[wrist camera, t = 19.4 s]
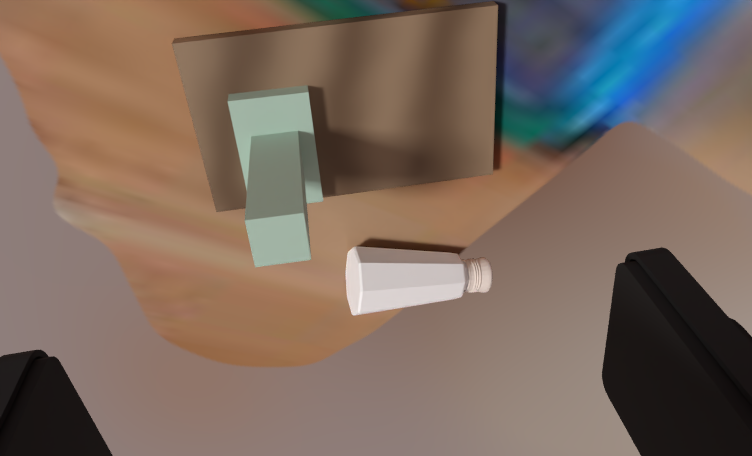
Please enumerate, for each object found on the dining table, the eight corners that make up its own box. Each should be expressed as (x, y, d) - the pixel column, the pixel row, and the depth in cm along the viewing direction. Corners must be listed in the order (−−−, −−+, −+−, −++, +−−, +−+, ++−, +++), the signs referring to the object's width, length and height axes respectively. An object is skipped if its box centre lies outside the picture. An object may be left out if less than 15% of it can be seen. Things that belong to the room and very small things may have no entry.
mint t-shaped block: (307, 85, 40) (317, 167, 30) (322, 192, 44) (334, 292, 35) (228, 94, 39) (214, 180, 30) (251, 201, 44) (245, 305, 34)
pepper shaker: (351, 329, 48) (484, 320, 50) (364, 296, 43) (508, 288, 46) (342, 268, 51) (468, 263, 53) (353, 231, 46) (489, 227, 49)
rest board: (493, 1, 39) (498, 5, 38) (488, 167, 46) (492, 174, 45) (174, 38, 38) (171, 43, 37) (217, 204, 45) (216, 212, 44)
